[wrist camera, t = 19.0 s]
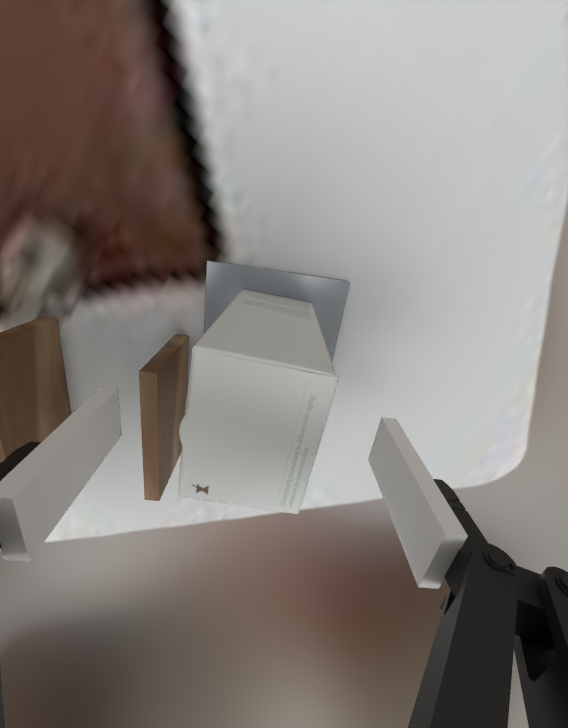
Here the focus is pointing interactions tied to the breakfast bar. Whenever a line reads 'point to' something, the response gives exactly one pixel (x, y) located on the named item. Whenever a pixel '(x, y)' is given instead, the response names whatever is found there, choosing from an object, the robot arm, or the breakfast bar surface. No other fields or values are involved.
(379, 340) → the breakfast bar surface
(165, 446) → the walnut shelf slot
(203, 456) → the skincare box
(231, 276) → the slate coaster
